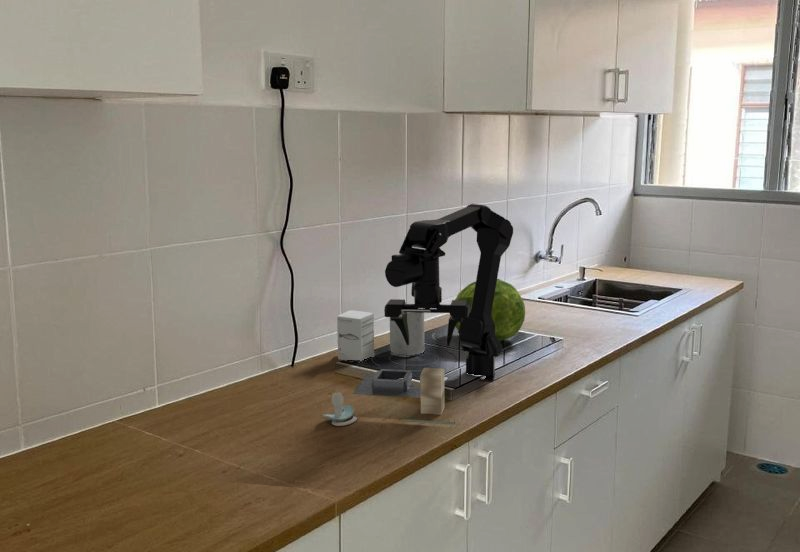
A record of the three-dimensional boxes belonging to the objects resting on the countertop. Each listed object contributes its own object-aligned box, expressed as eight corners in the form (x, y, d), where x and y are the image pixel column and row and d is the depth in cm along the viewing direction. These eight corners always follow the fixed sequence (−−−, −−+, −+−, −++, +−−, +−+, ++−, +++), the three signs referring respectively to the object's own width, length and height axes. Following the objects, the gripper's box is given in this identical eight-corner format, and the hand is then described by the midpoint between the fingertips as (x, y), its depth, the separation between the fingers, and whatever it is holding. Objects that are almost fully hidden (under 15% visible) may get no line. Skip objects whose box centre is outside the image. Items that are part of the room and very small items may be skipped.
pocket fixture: (430, 380, 198) (430, 367, 197) (420, 401, 184) (420, 387, 184) (366, 377, 201) (366, 364, 200) (352, 396, 188) (352, 383, 187)
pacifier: (363, 420, 174) (343, 413, 178) (363, 393, 173) (343, 386, 177) (339, 431, 169) (319, 423, 173) (339, 402, 168) (319, 395, 171)
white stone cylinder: (405, 359, 214) (405, 314, 212) (382, 351, 221) (381, 308, 219) (432, 352, 220) (431, 308, 218) (408, 344, 227) (408, 302, 225)
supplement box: (337, 362, 213) (335, 315, 210) (351, 354, 219) (350, 309, 217) (361, 366, 210) (360, 318, 207) (375, 357, 216) (374, 312, 213)
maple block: (444, 407, 178) (444, 368, 177) (441, 415, 174) (441, 375, 172) (424, 406, 179) (424, 367, 177) (420, 414, 175) (420, 374, 173)
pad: (460, 405, 181) (460, 403, 181) (454, 424, 171) (454, 422, 170) (412, 402, 183) (412, 400, 183) (403, 421, 173) (403, 418, 173)
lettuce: (475, 328, 244) (463, 271, 240) (540, 332, 228) (529, 271, 224) (435, 352, 231) (422, 292, 227) (502, 357, 215) (489, 293, 211)
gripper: (471, 270, 186) (472, 335, 190) (391, 270, 190) (394, 333, 193) (467, 282, 176) (468, 350, 179) (382, 281, 179) (385, 348, 182)
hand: (428, 345), depth 184 cm, fingers open, 9 cm apart
